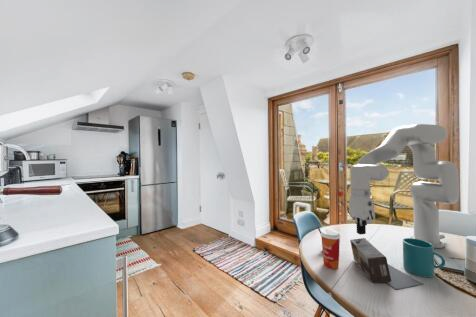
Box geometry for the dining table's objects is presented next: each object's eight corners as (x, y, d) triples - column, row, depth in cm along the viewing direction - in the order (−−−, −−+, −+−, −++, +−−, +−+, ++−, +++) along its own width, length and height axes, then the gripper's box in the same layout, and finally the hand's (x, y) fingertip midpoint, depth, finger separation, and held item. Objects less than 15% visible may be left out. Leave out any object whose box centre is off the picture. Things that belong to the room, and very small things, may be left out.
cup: (447, 284, 69) (447, 252, 69) (403, 272, 77) (402, 243, 77) (443, 272, 76) (443, 243, 76) (403, 262, 83) (402, 236, 83)
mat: (379, 260, 86) (379, 259, 86) (423, 284, 69) (423, 283, 69) (356, 263, 83) (356, 263, 83) (396, 289, 67) (396, 288, 67)
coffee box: (369, 257, 85) (392, 282, 69) (353, 259, 86) (372, 284, 70) (365, 237, 85) (387, 257, 69) (349, 239, 86) (367, 259, 70)
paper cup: (317, 261, 86) (317, 229, 86) (334, 260, 87) (333, 228, 87) (327, 271, 78) (326, 236, 78) (345, 270, 79) (344, 235, 79)
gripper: (382, 195, 81) (383, 239, 81) (354, 189, 96) (355, 227, 96) (367, 196, 80) (368, 241, 80) (340, 190, 94) (341, 228, 94)
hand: (361, 233), depth 88 cm, fingers closed
